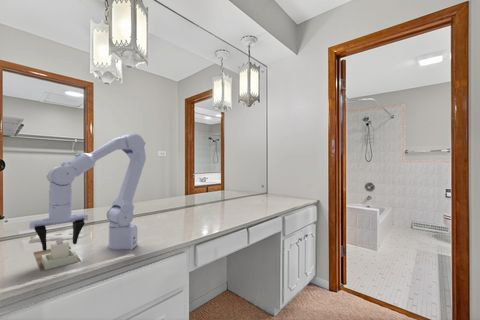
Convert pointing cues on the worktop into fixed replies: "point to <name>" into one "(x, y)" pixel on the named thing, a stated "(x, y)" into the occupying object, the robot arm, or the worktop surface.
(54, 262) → the holder
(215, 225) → the worktop surface
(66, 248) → the plug
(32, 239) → the gun
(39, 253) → the board
